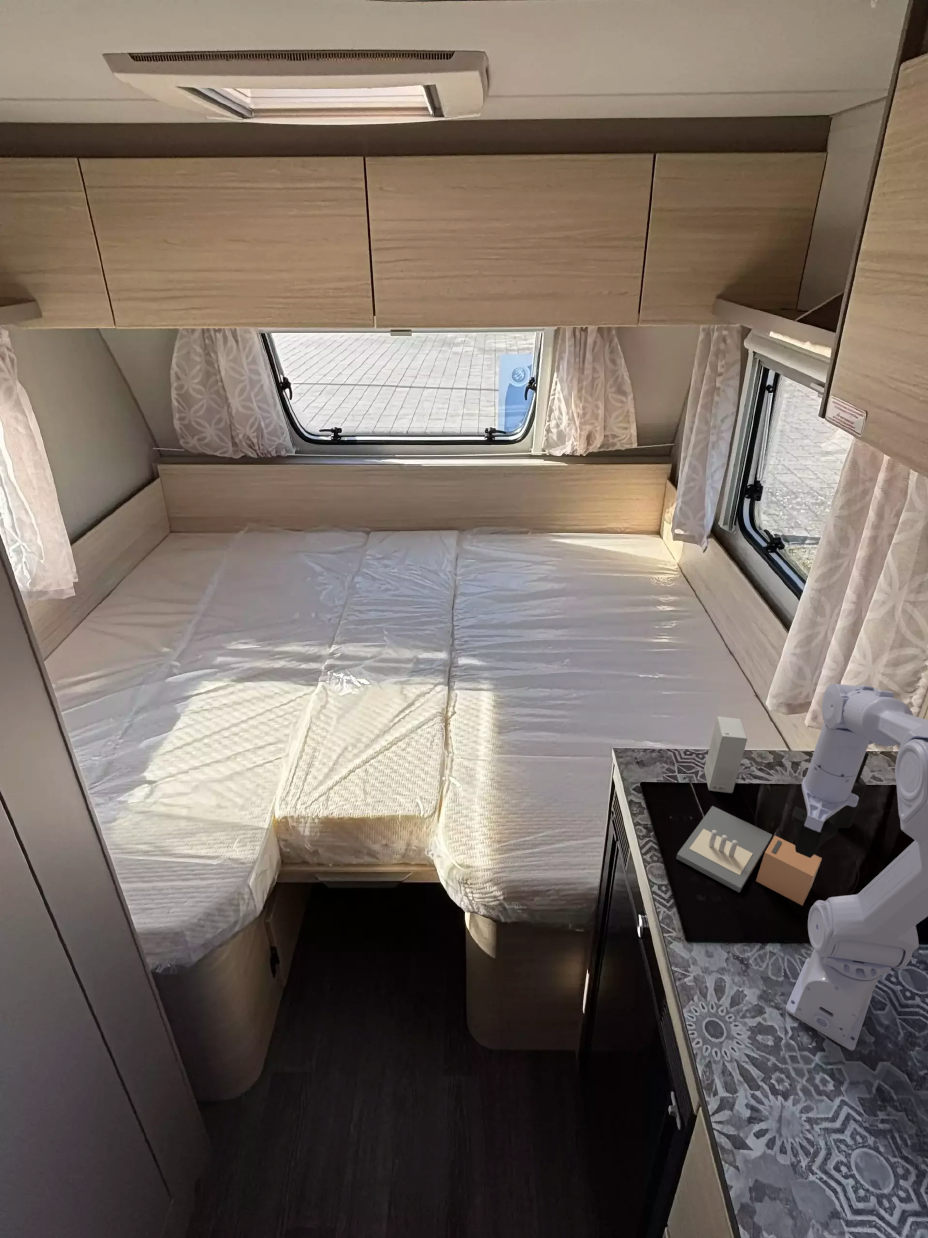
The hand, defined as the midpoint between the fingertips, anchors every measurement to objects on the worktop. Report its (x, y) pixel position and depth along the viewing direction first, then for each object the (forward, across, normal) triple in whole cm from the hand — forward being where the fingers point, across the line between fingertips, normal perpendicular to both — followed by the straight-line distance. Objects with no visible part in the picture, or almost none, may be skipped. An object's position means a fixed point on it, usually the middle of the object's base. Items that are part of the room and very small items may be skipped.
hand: (809, 837), depth 101 cm
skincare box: (+10, +16, +16) cm, 25 cm away
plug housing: (+9, -1, +1) cm, 10 cm away
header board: (+9, +1, +10) cm, 14 cm away
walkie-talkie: (+10, +19, -3) cm, 21 cm away
